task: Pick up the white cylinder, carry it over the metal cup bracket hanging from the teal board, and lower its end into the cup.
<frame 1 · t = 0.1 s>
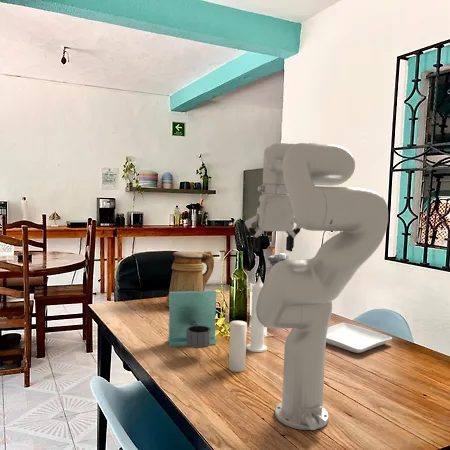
hand: (273, 250, 125), 37 cm above the table, tool pointing down, fingers open, 9 cm apart
tankard: (190, 305, 203), on the table
candle: (256, 349, 149), on the table
cup bracket: (198, 356, 140), on the table
juice carton: (275, 314, 192), on the table
white cylinder: (236, 368, 132), on the table
salad plate: (350, 343, 158), on the table
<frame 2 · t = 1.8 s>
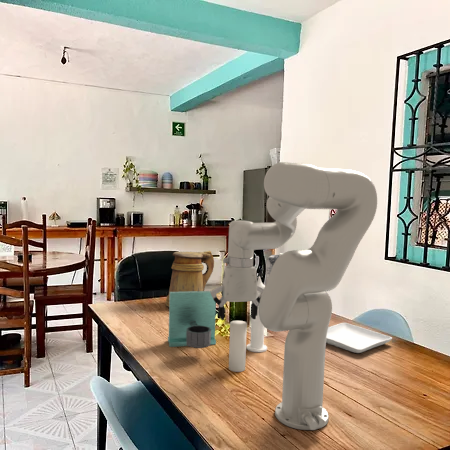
hand: (237, 318, 131), 15 cm above the table, tool pointing down, fingers open, 9 cm apart
nothing on the table moved.
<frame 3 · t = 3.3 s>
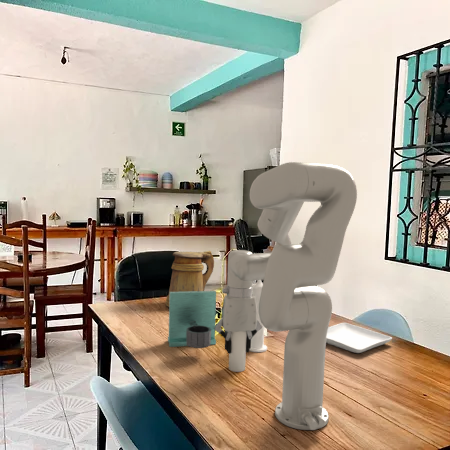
hand: (237, 350, 132), 5 cm above the table, tool pointing down, fingers closed on white cylinder, 5 cm apart
white cylinder: (236, 368, 132), on the table, touching gripper
everything else where it was.
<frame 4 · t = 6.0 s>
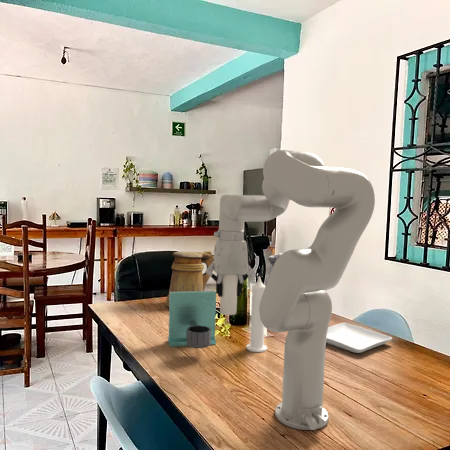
hand: (228, 295, 133), 22 cm above the table, tool pointing down, fingers closed on white cylinder, 5 cm apart
white cylinder: (228, 312, 133), point 16 cm above the table, touching gripper
everything else where it was.
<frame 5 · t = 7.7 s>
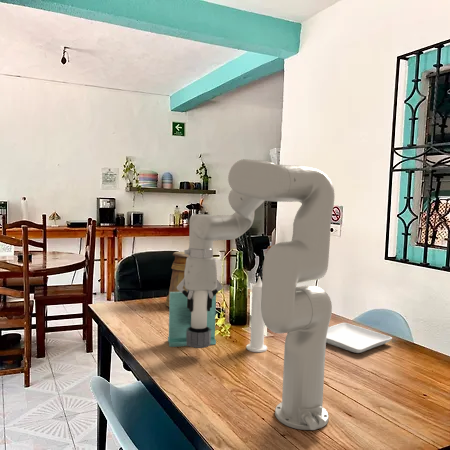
hand: (199, 309, 139), 15 cm above the table, tool pointing down, fingers closed on white cylinder, 5 cm apart
white cylinder: (198, 326, 139), point 10 cm above the table, touching gripper
everything else where it was.
when the fingers open (11 cm above the table, at t = 8.9 s): white cylinder stays where it is, resting on cup bracket.
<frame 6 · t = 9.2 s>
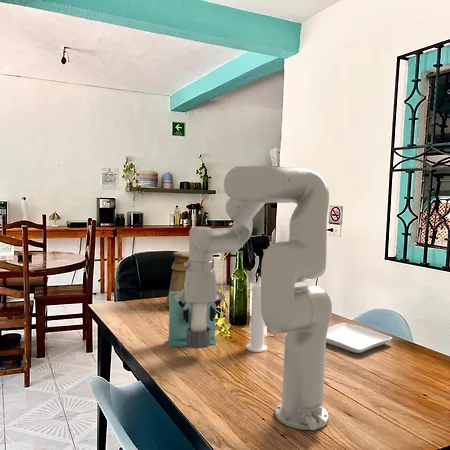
hand: (199, 320, 139), 12 cm above the table, tool pointing down, fingers open, 7 cm apart
white cylinder: (198, 341, 140), point 5 cm above the table, touching cup bracket
everything else where it was.
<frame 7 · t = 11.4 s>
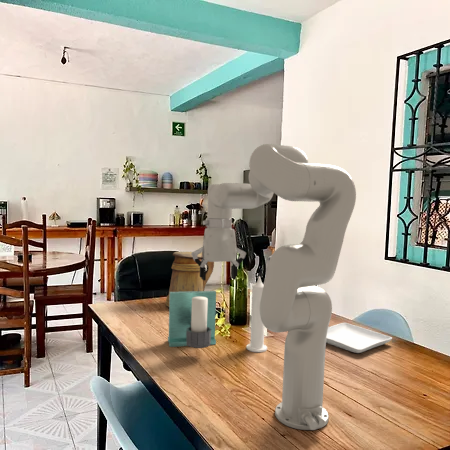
hand: (218, 279, 136), 26 cm above the table, tool pointing down, fingers open, 9 cm apart
nothing on the table moved.
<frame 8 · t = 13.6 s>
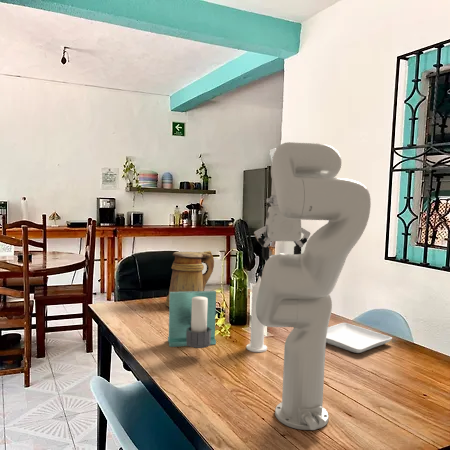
hand: (281, 260, 130), 33 cm above the table, tool pointing down, fingers open, 9 cm apart
nothing on the table moved.
at the end: white cylinder 0.1 cm off-centre on the cup bracket, point 5.0 cm above the cup bracket's base; white cylinder tilted 0°; the gripper is holding nothing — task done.
